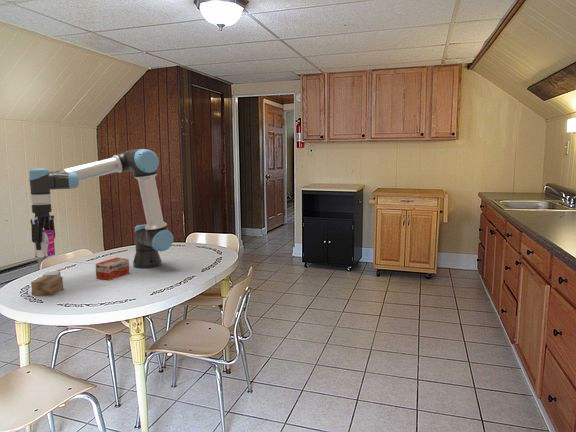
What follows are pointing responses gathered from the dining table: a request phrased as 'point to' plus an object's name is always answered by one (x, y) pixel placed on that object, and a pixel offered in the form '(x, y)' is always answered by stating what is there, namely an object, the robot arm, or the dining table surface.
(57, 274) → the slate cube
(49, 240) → the supplement box
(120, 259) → the medicine box
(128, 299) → the dining table surface
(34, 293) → the brown cardboard box
